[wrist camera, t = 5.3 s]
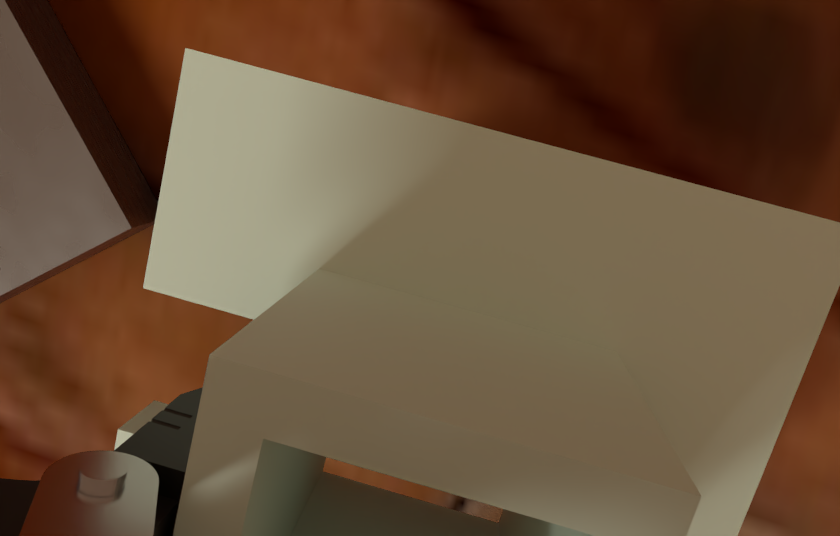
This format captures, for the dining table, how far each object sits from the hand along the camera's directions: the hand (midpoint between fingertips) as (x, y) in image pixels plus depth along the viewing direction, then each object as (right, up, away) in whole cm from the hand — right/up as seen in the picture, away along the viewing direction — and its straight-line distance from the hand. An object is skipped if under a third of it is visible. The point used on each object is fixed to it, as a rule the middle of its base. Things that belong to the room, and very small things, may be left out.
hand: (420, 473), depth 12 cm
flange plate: (0, +1, +2) cm, 3 cm away
